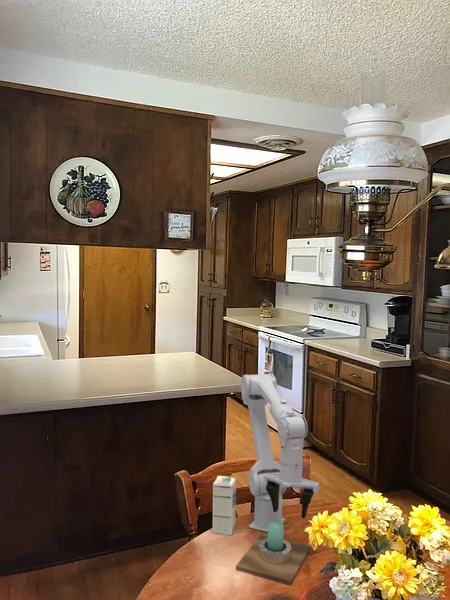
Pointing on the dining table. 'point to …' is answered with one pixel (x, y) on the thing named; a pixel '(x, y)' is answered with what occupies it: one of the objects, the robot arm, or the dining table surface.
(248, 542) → the dining table surface
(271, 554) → the socket ring
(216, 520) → the syrup box
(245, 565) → the walnut board
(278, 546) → the peg
